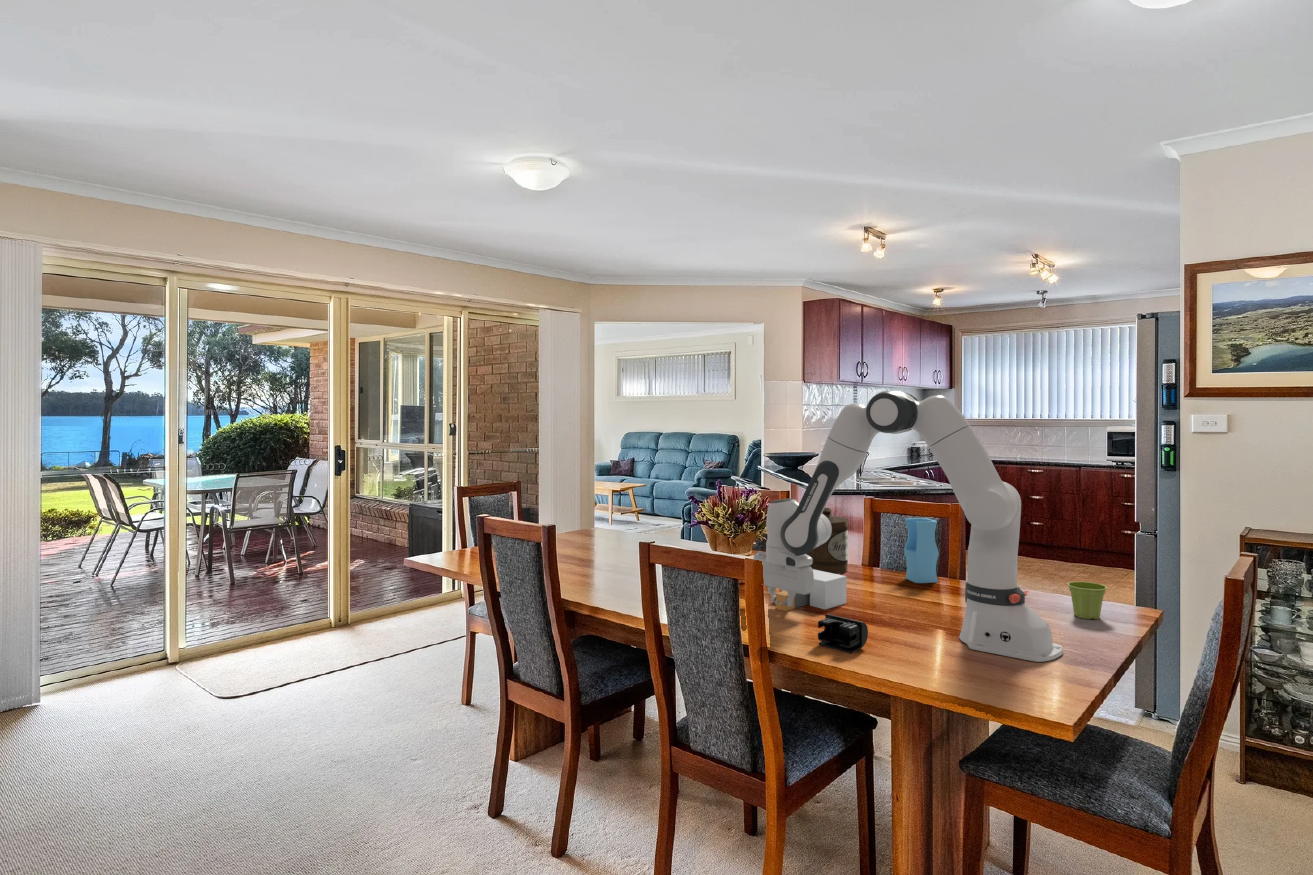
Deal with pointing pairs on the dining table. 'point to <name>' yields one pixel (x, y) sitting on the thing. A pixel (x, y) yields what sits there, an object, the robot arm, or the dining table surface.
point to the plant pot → (1087, 599)
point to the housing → (828, 590)
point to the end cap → (842, 633)
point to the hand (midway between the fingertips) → (781, 603)
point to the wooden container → (832, 547)
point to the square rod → (797, 601)
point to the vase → (921, 550)
